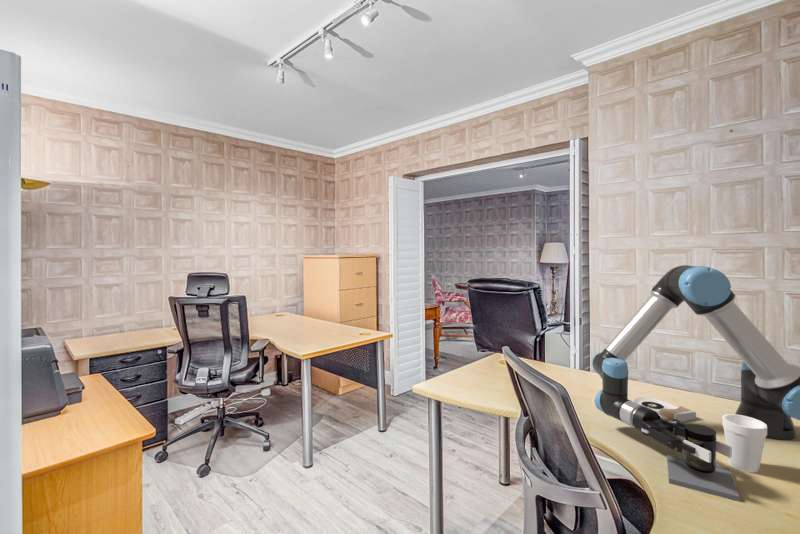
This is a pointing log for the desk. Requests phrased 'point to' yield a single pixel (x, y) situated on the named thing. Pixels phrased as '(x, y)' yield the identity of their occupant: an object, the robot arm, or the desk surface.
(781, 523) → the desk surface
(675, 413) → the record player
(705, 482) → the mat
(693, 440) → the supplement container
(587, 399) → the desk surface
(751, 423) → the foam cup
